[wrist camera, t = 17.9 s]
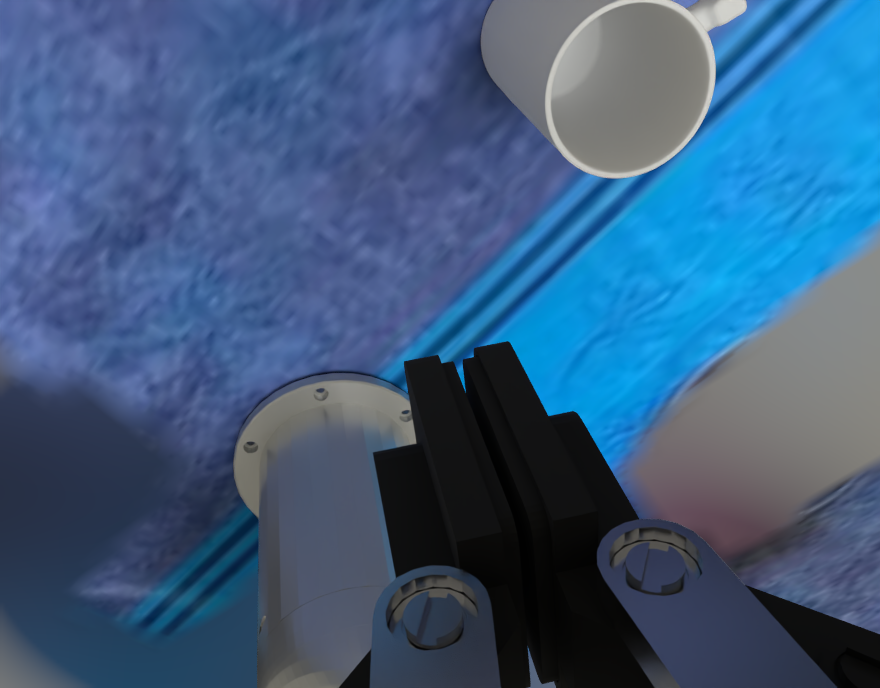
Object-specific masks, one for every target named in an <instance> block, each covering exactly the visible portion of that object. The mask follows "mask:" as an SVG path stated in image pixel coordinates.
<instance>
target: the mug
mask: <svg viewBox="0 0 880 688" xmlns="http://www.w3.org/2000/svg"><path fill="white" fill-rule="evenodd" d="M746 7H747V4H746V0H699V1H698V2H696V3H695V4H693V5H692V6H690V7H688V8H684V7H683V6H681V5H679V4H677V3H675V2H673V1H671V0H494V1H493V2H492V4H491V5H490V7H489V9H488V11H487V14H486V16H485V19H484V22H483V26H482V32H481V52H482V57H483V61H484V64H485V67H486V69H487V71H488V73H489V75H490V77H491V78H492V80H493V81H494V82H495V83H496V85H497V86H498V87H499V88H500V89H501V90H502V91H503V92H504V94H505V95H506V96H507V97H508V98H509V100H510V101H511V102H512V103H513V104H514V105H515V106H516V107H517V108H518V109H519V110H520V111H521V112H522V113H523V114H524V115H525V116H526V117H527V118H528V119H529V120H530V121H531V122H532V123H533V125H534V126H535V127H536V128H537V129H538V130H539V131H540V132H541V133H542V134H543V135H544V136H545V137H546V138H547V139H548V140H549V141H550V142H551V143H552V144H553V145H554V146H555V147H556V148H557V149H558V150H559V151H560V153H561V154H562V155H563V156H564V157H565V158H566V159H567V160H568V161H569V162H570V163H572V164H573V165H574V166H576V167H577V168H579V169H581V170H582V171H584V172H587V173H589V174H592V175H595V176H599V177H604V178H627V177H632V176H636V175H640V174H643V173H646V172H648V171H651V170H653V169H655V168H657V167H659V166H660V165H662V164H664V163H665V162H667V161H668V160H669V159H671V158H672V157H673V156H675V155H676V154H677V153H678V152H679V151H680V150H681V149H682V148H683V147H684V146H685V145H686V144H687V143H688V142H689V141H690V139H691V138H692V137H693V135H694V134H695V133H696V131H697V130H698V128H699V126H700V125H701V123H702V121H703V119H704V117H705V115H706V113H707V111H708V108H709V105H710V102H711V99H712V95H713V91H714V85H715V75H716V67H715V56H714V51H713V47H712V43H711V40H710V38H709V36H708V34H707V32H708V31H709V30H711V29H712V28H714V27H717V26H720V25H723V24H726V23H728V22H729V21H731V20H732V19H734V18H735V17H737V16H739V15H740V14H742V13H743V12H744V11H745V10H746Z"/></svg>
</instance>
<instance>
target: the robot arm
mask: <svg viewBox="0 0 880 688" xmlns="http://www.w3.org/2000/svg"><path fill="white" fill-rule="evenodd" d="M404 368H405V375H406V381H407V387H408V393H409V395H408V394H407V393H406V392H404V391H402V390H401V389H399V388H397V387H396V386H394V385H392V384H391V383H388V382H386V381H383V380H380V379H377V378H374V377H371V376H365V375H360V374H354V373H330V374H324V375H317V376H312V377H309V378H305V379H302V380H299V381H296V382H293V383H291V384H289V385H287V386H285V387H283V388H282V389H280V390H278V391H276V392H274V393H273V394H272V395H270V396H269V397H268V398H267V399H265V400H264V401H263V402H261V403H260V404H259V405H258V406H257V407H256V409H255V410H254V411H253V412H252V413H251V414H250V415H249V416H248V418H247V420H246V421H245V423H244V425H243V427H242V428H241V430H240V432H239V435H238V438H237V441H236V445H235V450H234V461H233V467H234V480H235V483H236V486H237V489H238V492H239V495H240V496H241V498H242V499H243V501H244V503H245V504H246V506H247V507H248V508H249V509H250V510H251V512H252V513H253V514H254V515H255V516H256V517H257V518H258V519H259V548H258V649H257V650H258V651H257V655H258V656H257V688H528V687H530V671H529V659H528V648H529V651H530V654H531V657H532V660H533V663H534V666H535V669H536V672H537V675H538V677H539V680H540V682H541V683H542V684H544V683H549V682H553V681H554V683H555V685H556V688H880V634H877V633H875V632H872V631H869V630H866V629H864V628H861V627H858V626H855V625H853V624H850V623H847V622H845V621H842V620H839V619H836V618H834V617H831V616H828V615H826V614H823V613H820V612H817V611H815V610H812V609H809V608H806V607H804V606H801V605H798V604H796V603H793V602H790V601H787V600H785V599H782V598H779V597H777V596H774V595H771V594H768V593H766V592H763V591H760V590H757V589H755V588H752V587H749V586H747V585H744V584H743V582H742V581H741V580H740V579H739V578H738V577H737V576H736V575H735V574H734V572H733V571H732V570H731V569H730V568H729V567H728V566H727V565H726V564H725V562H724V561H723V560H722V559H721V558H720V557H719V556H718V555H717V554H716V552H715V551H714V550H713V549H712V548H711V547H710V546H709V545H708V544H707V543H706V541H704V540H703V539H702V538H701V537H700V536H698V535H697V534H696V533H695V532H694V531H692V530H690V529H688V528H686V527H684V526H682V525H680V524H678V523H674V522H670V521H665V520H661V519H639V518H638V516H637V514H636V512H635V511H634V509H633V507H632V506H631V504H630V502H629V500H628V499H627V497H626V495H625V493H624V492H623V490H622V488H621V487H620V485H619V483H618V481H617V480H616V478H615V476H614V475H613V473H612V471H611V469H610V468H609V466H608V464H607V462H606V461H605V459H604V457H603V456H602V454H601V452H600V450H599V449H598V447H597V445H596V443H595V442H594V440H593V438H592V437H591V435H590V433H589V431H588V430H587V428H586V426H585V424H584V423H583V421H582V419H581V418H580V416H579V415H578V414H577V413H576V412H574V411H572V412H567V413H562V414H557V415H552V416H548V414H547V413H546V411H545V409H544V407H543V405H542V403H541V401H540V399H539V397H538V395H537V393H536V391H535V390H534V388H533V386H532V384H531V382H530V380H529V378H528V376H527V374H526V372H525V370H524V368H523V367H522V365H521V363H520V361H519V359H518V357H517V355H516V353H515V351H514V349H513V347H512V345H511V344H510V342H508V341H507V342H502V343H497V344H492V345H487V346H481V347H476V348H474V357H472V358H467V359H463V371H464V380H465V389H466V393H465V390H464V388H463V385H462V382H461V380H460V377H459V375H458V372H457V369H456V367H455V364H454V362H453V361H452V362H447V363H442V364H441V361H440V358H439V356H438V355H435V356H430V357H425V358H420V359H415V360H409V361H404ZM319 388H322V389H319ZM527 645H528V646H527Z"/></svg>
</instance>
